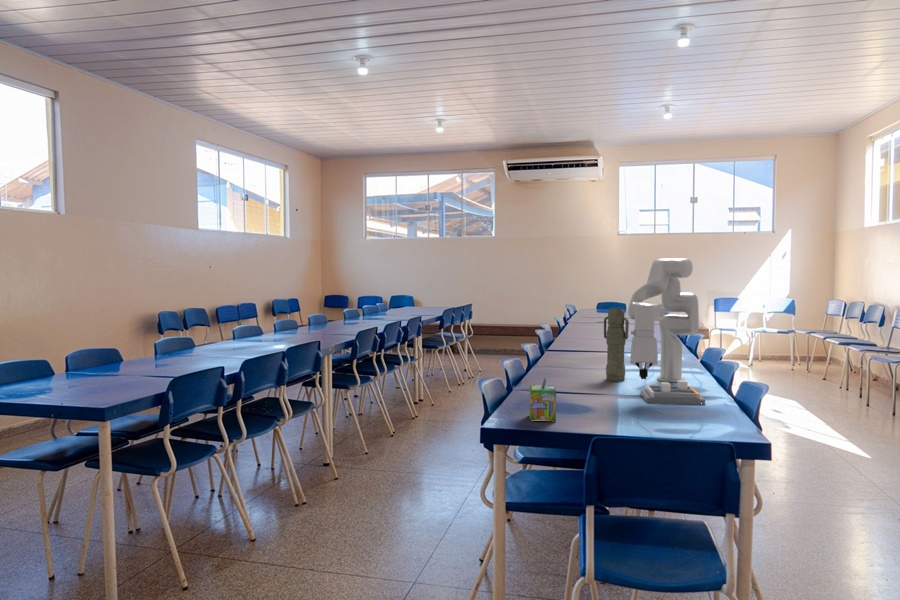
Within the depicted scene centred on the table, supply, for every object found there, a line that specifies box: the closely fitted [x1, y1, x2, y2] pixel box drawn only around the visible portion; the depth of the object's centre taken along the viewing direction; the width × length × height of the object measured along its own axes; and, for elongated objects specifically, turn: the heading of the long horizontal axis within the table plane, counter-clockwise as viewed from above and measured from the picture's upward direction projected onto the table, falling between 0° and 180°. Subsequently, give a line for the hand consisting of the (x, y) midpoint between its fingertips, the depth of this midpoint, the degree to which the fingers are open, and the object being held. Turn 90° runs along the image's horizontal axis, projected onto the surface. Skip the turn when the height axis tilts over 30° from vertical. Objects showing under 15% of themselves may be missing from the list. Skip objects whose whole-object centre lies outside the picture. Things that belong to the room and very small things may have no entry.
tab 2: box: [676, 379, 689, 390], centre depth 232 cm, size 3×4×5 cm
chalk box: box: [528, 377, 557, 422], centre depth 201 cm, size 9×9×15 cm
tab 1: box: [660, 381, 672, 392], centre depth 228 cm, size 3×4×5 cm
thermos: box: [603, 306, 630, 382], centre depth 270 cm, size 9×12×35 cm
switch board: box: [640, 384, 706, 405], centre depth 230 cm, size 22×16×4 cm
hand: (643, 378), depth 229 cm, fingers closed
